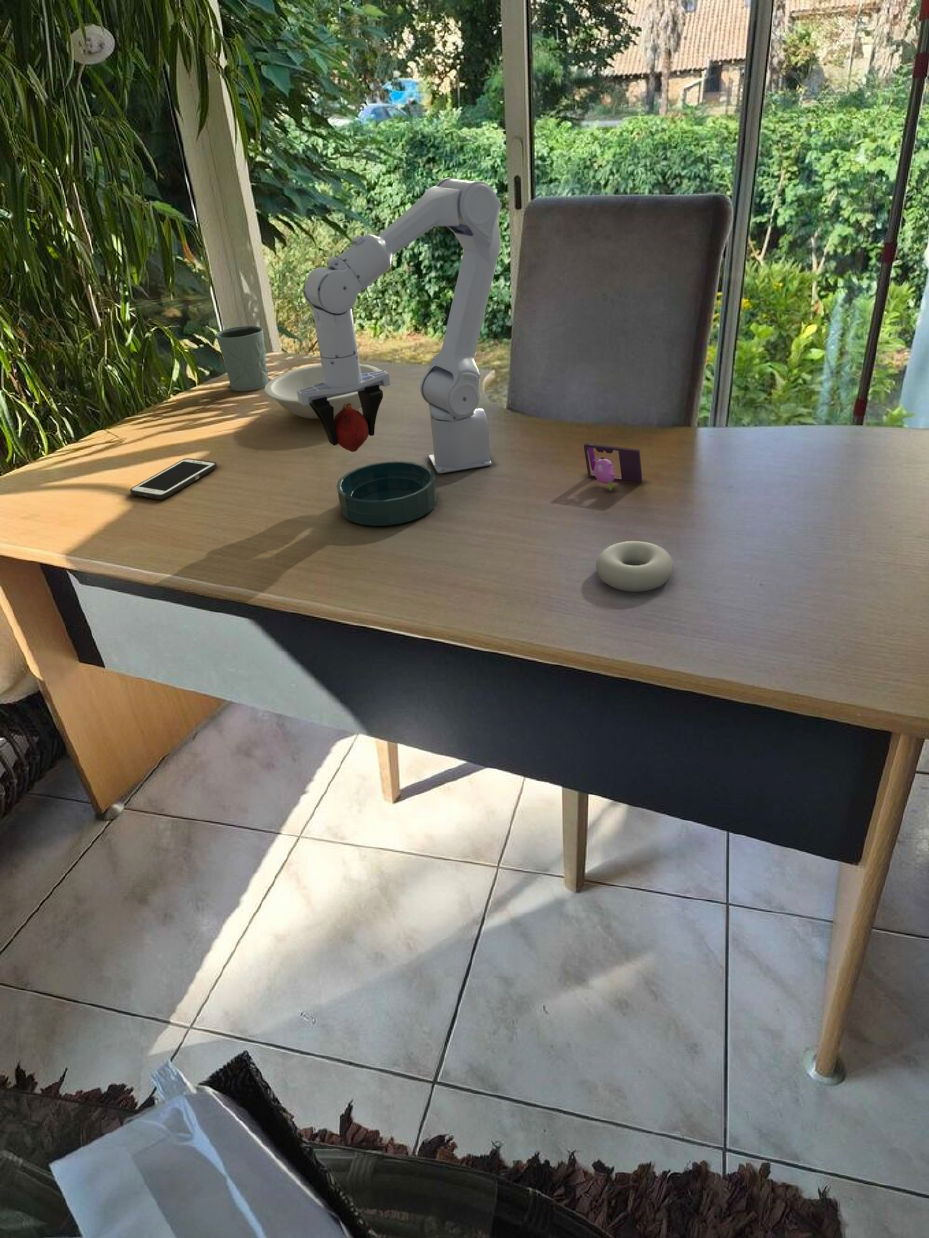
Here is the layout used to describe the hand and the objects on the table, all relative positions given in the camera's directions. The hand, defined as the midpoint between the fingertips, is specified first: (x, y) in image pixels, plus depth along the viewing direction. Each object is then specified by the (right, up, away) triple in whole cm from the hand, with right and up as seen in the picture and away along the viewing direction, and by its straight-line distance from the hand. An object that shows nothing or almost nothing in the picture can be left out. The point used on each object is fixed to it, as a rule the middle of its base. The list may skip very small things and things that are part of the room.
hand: (352, 438), depth 139 cm
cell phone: (-33, -5, +15) cm, 36 cm away
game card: (+41, -7, +1) cm, 42 cm away
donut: (+40, -23, -24) cm, 52 cm away
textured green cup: (-31, +24, +59) cm, 71 cm away
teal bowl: (+6, -11, 0) cm, 12 cm away
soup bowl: (-10, +13, +39) cm, 43 cm away
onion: (0, -2, +1) cm, 2 cm away
